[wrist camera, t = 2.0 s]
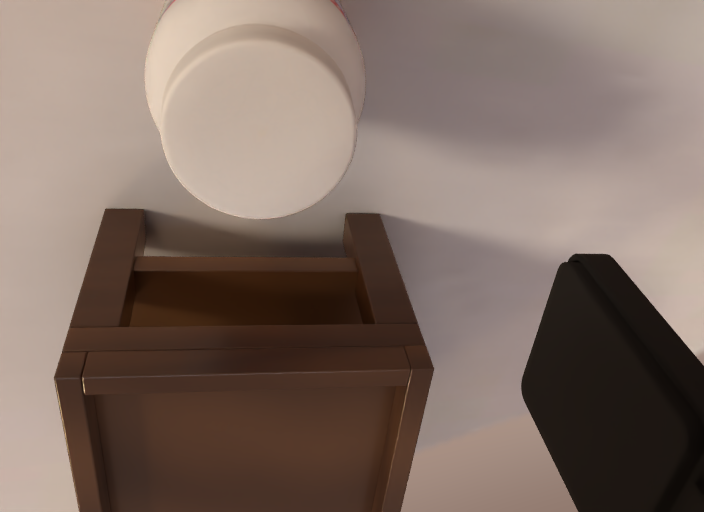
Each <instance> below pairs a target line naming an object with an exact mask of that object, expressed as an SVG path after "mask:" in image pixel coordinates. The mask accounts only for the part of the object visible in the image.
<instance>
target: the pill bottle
mask: <svg viewBox="0 0 704 512" xmlns="http://www.w3.org/2000/svg"><path fill="white" fill-rule="evenodd" d="M365 90H366V75H365V66H364V61H363V56H362V53H361V49H360V47H359V44H358V41H357V38H356V36H355V33H354V31H353V29H352V27H351V25H350V23H349V21H348V18H347V16H346V14H345V12H344V10H343V8H342V6H341V4H340V2H339V0H166V1H165V3H164V6H163V9H162V12H161V14H160V17H159V20H158V22H157V25H156V27H155V30H154V33H153V35H152V38H151V42H150V45H149V49H148V53H147V57H146V64H145V92H146V97H147V102H148V106H149V109H150V112H151V115H152V118H153V120H154V122H155V124H156V126H157V128H158V130H159V132H160V134H161V141H162V146H163V150H164V153H165V156H166V159H167V161H168V164H169V166H170V167H171V169H172V171H173V173H174V174H175V176H176V177H177V179H178V180H179V181H180V183H181V184H182V185H183V186H184V187H185V188H186V189H187V190H188V191H189V192H190V193H191V194H192V195H193V196H195V197H196V198H197V199H198V200H200V201H202V202H203V203H205V204H206V205H208V206H209V207H211V208H213V209H215V210H218V211H221V212H223V213H226V214H229V215H233V216H237V217H241V218H249V219H272V218H279V217H284V216H288V215H292V214H295V213H297V212H300V211H303V210H305V209H307V208H309V207H311V206H313V205H314V204H316V203H317V202H319V201H320V200H322V199H323V198H324V197H325V196H327V195H328V194H329V193H330V192H331V191H332V190H333V189H334V188H335V187H336V185H337V184H338V183H339V182H340V180H341V179H342V178H343V176H344V175H345V173H346V171H347V169H348V167H349V165H350V163H351V161H352V158H353V155H354V151H355V146H356V140H357V124H358V121H359V119H360V115H361V112H362V109H363V105H364V99H365Z"/></svg>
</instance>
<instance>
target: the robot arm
mask: <svg viewBox="0 0 704 512" xmlns="http://www.w3.org/2000/svg"><path fill="white" fill-rule="evenodd" d="M521 389H522V396H523V399H524V401H525V403H526V405H527V408H528V410H529V412H530V414H531V416H532V418H533V420H534V422H535V424H536V426H537V428H538V430H539V432H540V434H541V436H542V438H543V440H544V442H545V444H546V446H547V448H548V451H549V452H550V455H551V457H552V459H553V461H554V463H555V465H556V467H557V469H558V471H559V473H560V475H561V477H562V479H563V481H564V483H565V485H566V487H567V489H568V491H569V493H570V496H571V498H572V500H573V501H574V504H575V506H576V508H577V510H578V512H704V366H703V365H702V363H701V362H700V361H699V360H698V359H697V357H696V356H695V355H694V354H693V353H692V351H691V350H690V349H689V348H688V347H687V345H686V344H685V343H684V342H683V341H682V340H681V338H680V337H679V336H678V335H677V334H676V332H675V331H674V330H673V329H672V328H671V326H670V325H669V324H668V323H667V322H666V320H665V319H664V318H663V317H662V316H661V315H660V313H659V312H658V311H657V310H656V309H655V307H654V306H653V305H652V304H651V303H650V301H649V300H648V299H647V298H646V297H645V295H644V294H643V293H642V292H641V291H640V290H639V288H638V287H637V286H636V285H635V284H634V282H633V281H632V280H631V279H630V278H629V276H628V275H627V274H626V273H625V272H624V270H623V269H622V268H621V267H620V266H619V265H618V263H617V262H616V261H615V260H614V259H613V258H612V257H611V256H610V255H607V254H574V255H572V256H571V257H570V259H569V260H568V262H564V263H562V264H561V265H560V266H559V268H558V271H557V274H556V277H555V280H554V283H553V286H552V289H551V292H550V295H549V298H548V301H547V304H546V307H545V310H544V313H543V316H542V319H541V322H540V325H539V329H538V332H537V335H536V338H535V341H534V344H533V347H532V350H531V353H530V356H529V359H528V362H527V365H526V368H525V371H524V374H523V377H522V383H521Z"/></svg>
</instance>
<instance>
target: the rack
mask: <svg viewBox="0 0 704 512" xmlns="http://www.w3.org/2000/svg"><path fill="white" fill-rule="evenodd" d="M145 243H146V231H145V218H144V210H140V209H105V212H104V215H103V218H102V222H101V225H100V228H99V231H98V235H97V238H96V241H95V244H94V248H93V251H92V254H91V257H90V261H89V264H88V267H87V271H86V274H85V277H84V280H83V284H82V287H81V290H80V293H79V297H78V300H77V303H76V307H75V310H74V313H73V316H72V320H71V323H70V326H69V330H68V333H67V337H66V340H65V343H64V347H63V350H62V354H61V356H60V360H59V363H58V366H57V370H56V373H55V376H54V381H55V387H56V392H57V397H58V402H59V408H60V413H61V418H62V423H63V429H64V434H65V439H66V445H67V450H68V455H69V460H70V466H71V471H72V476H73V482H74V487H75V492H76V497H77V503H78V508H79V512H400V511H401V507H402V503H403V499H404V494H405V490H406V486H407V481H408V477H409V473H410V469H411V464H412V460H413V456H414V452H415V448H416V443H417V439H418V435H419V431H420V426H421V422H422V418H423V414H424V409H425V405H426V401H427V397H428V392H429V388H430V384H431V380H432V376H433V371H434V367H433V364H432V361H431V358H430V356H429V353H428V350H427V347H426V346H425V342H424V339H423V337H422V334H421V331H420V328H419V325H418V322H417V319H416V317H415V314H414V311H413V308H412V305H411V302H410V299H409V297H408V294H407V291H406V288H405V285H404V282H403V279H402V277H401V274H400V271H399V268H398V265H397V262H396V259H395V257H394V254H393V251H392V248H391V245H390V242H389V239H388V237H387V234H386V231H385V228H384V225H383V222H382V219H381V217H380V214H348V213H347V214H346V217H345V226H344V234H343V245H344V250H345V254H346V258H322V257H164V256H143V254H144V248H145Z"/></svg>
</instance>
